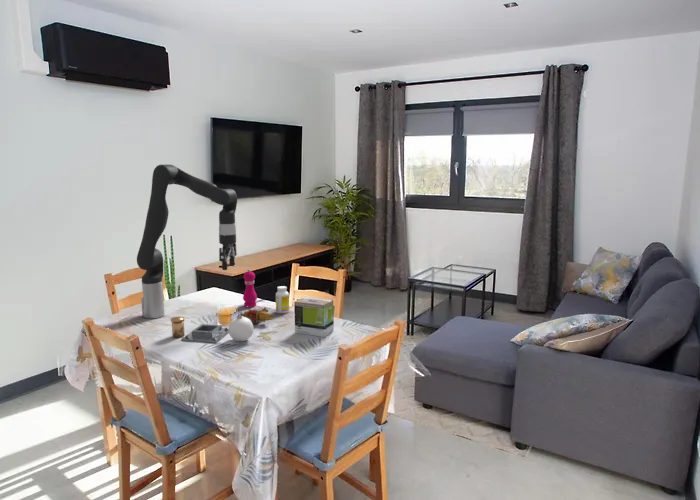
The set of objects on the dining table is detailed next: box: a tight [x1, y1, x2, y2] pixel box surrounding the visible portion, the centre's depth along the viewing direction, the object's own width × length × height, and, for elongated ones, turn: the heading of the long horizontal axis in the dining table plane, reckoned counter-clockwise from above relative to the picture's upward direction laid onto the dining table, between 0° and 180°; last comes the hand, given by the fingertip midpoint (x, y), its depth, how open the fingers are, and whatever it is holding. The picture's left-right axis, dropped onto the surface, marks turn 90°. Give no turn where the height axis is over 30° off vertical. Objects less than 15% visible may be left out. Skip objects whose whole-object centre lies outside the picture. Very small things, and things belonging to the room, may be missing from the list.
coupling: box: [180, 323, 229, 344], centre depth 217 cm, size 16×16×3 cm
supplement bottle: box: [275, 285, 290, 314], centre depth 250 cm, size 7×7×13 cm
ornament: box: [228, 313, 254, 342], centre depth 210 cm, size 10×10×12 cm
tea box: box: [293, 296, 335, 338], centre depth 221 cm, size 15×10×15 cm, turn 65°
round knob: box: [170, 316, 186, 339], centre depth 215 cm, size 6×6×8 cm
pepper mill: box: [242, 268, 258, 308], centre depth 259 cm, size 7×7×20 cm
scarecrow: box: [239, 307, 275, 325], centre depth 234 cm, size 17×16×8 cm
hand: (228, 267), depth 228 cm, fingers open, 8 cm apart
